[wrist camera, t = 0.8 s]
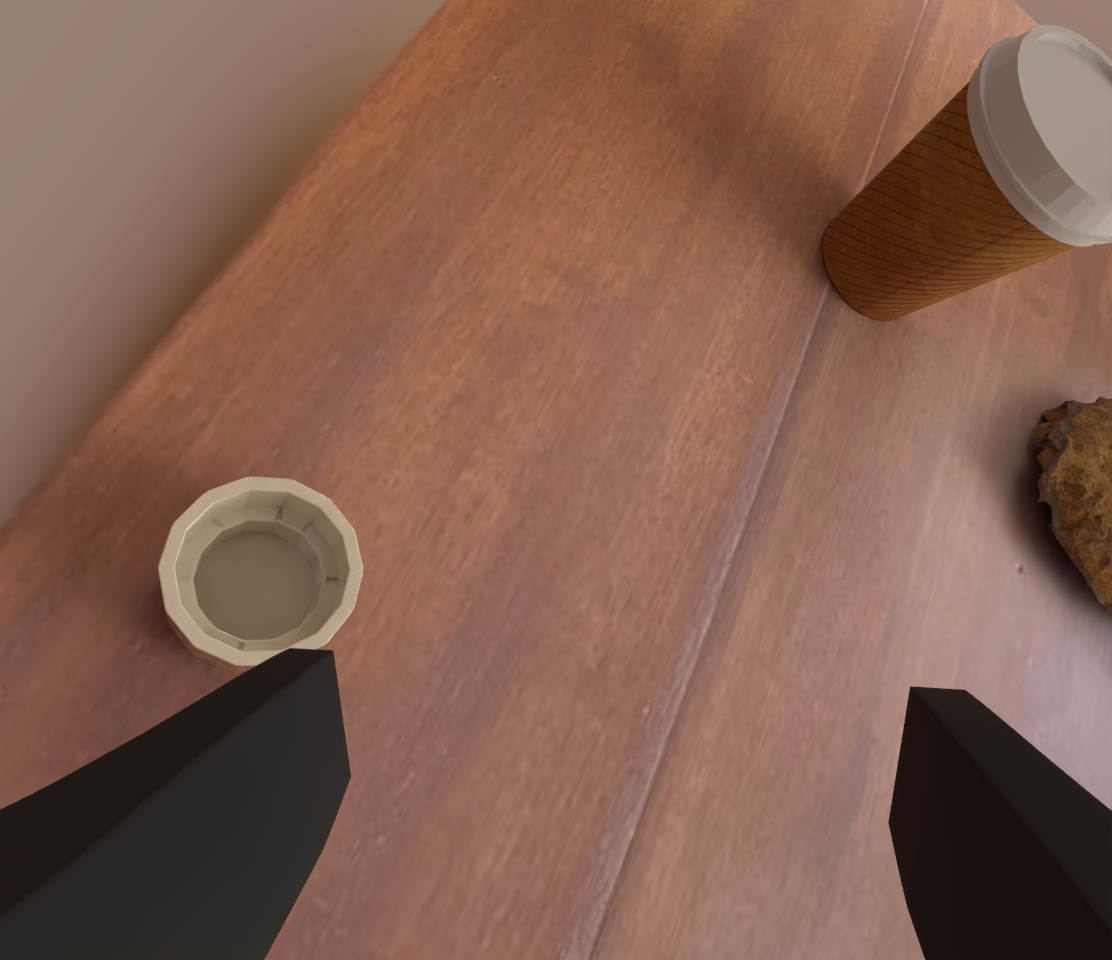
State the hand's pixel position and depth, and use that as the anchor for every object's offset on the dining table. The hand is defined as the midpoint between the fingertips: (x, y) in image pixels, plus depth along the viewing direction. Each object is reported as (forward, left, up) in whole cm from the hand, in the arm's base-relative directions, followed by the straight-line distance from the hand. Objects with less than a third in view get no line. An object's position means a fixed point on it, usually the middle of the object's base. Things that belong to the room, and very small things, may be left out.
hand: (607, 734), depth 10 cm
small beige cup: (0, +5, -18) cm, 19 cm away
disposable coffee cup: (+34, 0, -18) cm, 39 cm away
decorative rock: (+37, -20, -18) cm, 46 cm away
